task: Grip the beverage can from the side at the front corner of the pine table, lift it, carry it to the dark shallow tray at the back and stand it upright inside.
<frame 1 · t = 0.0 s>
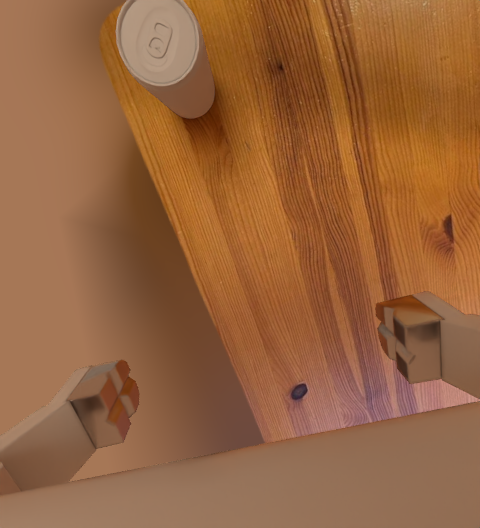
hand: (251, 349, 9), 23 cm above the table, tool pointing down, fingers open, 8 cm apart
beverage can: (190, 91, 28), on the table
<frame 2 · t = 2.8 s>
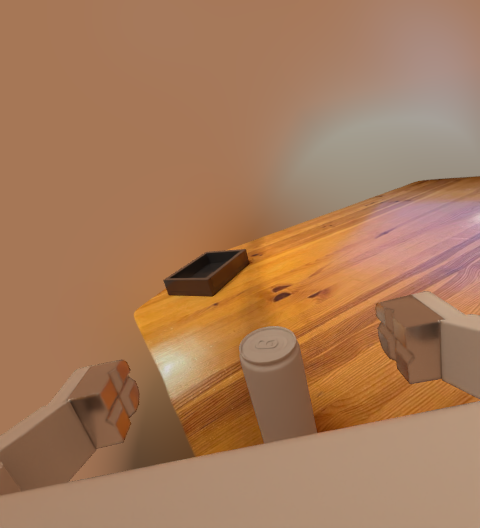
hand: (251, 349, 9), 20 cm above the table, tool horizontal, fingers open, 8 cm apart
beverage can: (294, 452, 27), on the table
dark shallow tray: (211, 278, 74), on the table
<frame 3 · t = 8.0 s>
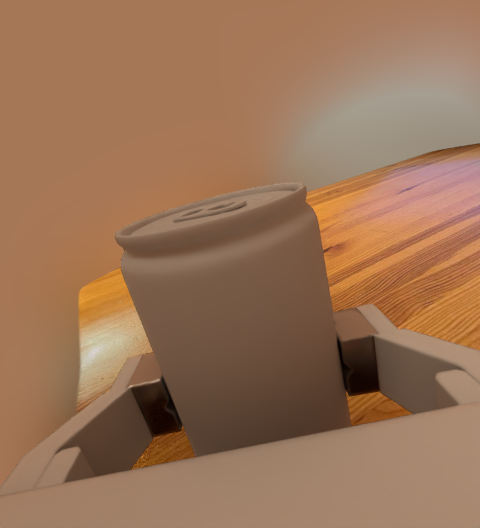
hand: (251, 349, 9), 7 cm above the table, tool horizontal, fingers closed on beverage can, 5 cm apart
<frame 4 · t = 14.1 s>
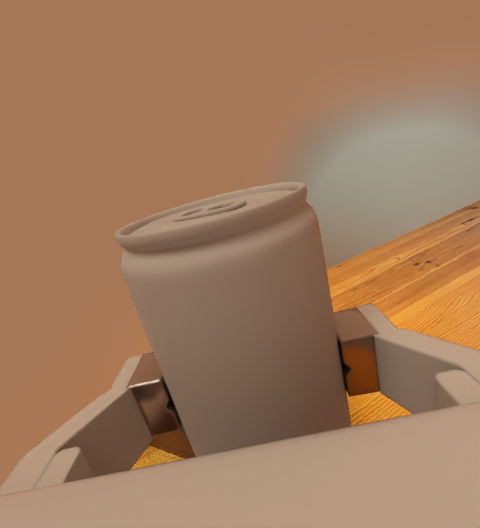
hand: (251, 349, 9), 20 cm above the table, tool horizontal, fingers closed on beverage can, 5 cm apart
dark shallow tray: (235, 392, 36), on the table
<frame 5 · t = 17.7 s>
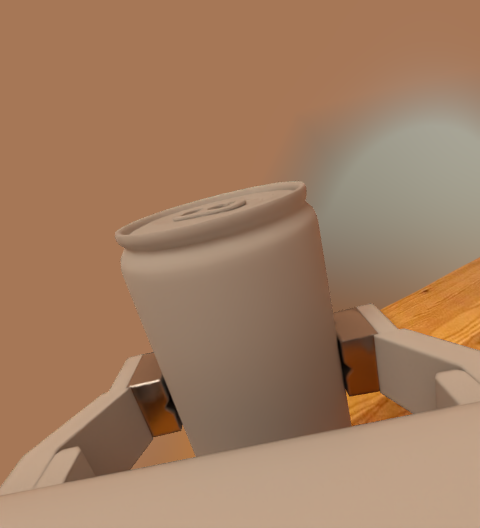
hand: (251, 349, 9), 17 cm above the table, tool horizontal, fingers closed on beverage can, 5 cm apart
when the fingers open (8 cm above the table, at t = 20.5 s): beverage can stays where it is, resting on dark shallow tray.
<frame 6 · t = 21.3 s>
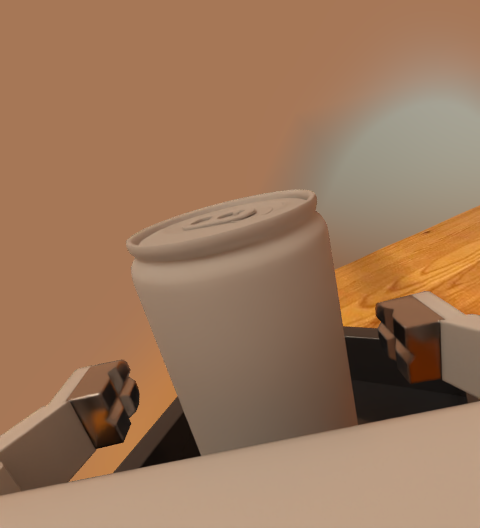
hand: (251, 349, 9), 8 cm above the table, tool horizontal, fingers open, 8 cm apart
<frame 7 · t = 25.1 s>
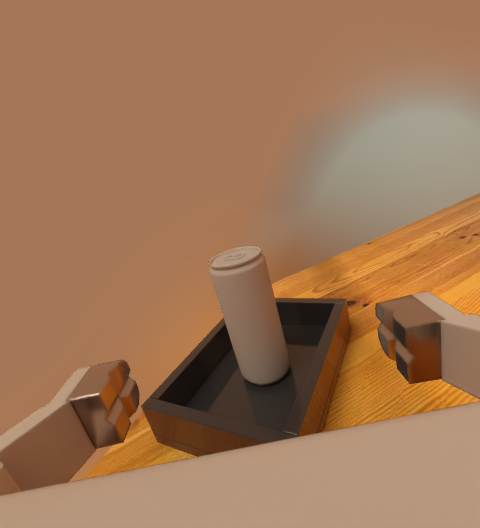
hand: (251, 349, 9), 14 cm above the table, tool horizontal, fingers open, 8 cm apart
beverage can: (266, 372, 29), point 1 cm above the table, touching dark shallow tray
dark shallow tray: (266, 378, 29), on the table
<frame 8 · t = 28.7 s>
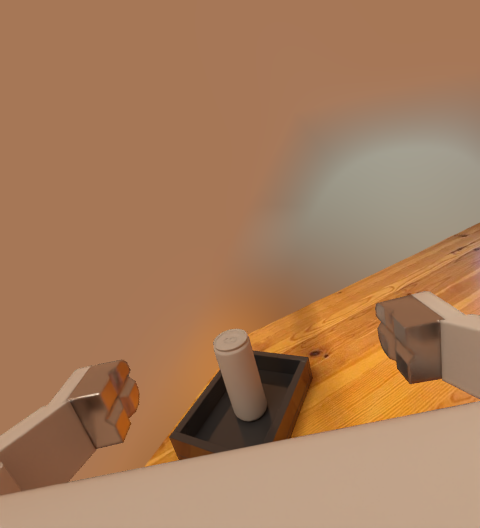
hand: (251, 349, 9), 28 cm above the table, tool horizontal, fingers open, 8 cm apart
beverage can: (251, 410, 42), point 1 cm above the table, touching dark shallow tray
dark shallow tray: (251, 415, 42), on the table
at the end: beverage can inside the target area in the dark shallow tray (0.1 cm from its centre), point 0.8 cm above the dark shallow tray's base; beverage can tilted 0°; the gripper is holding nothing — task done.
